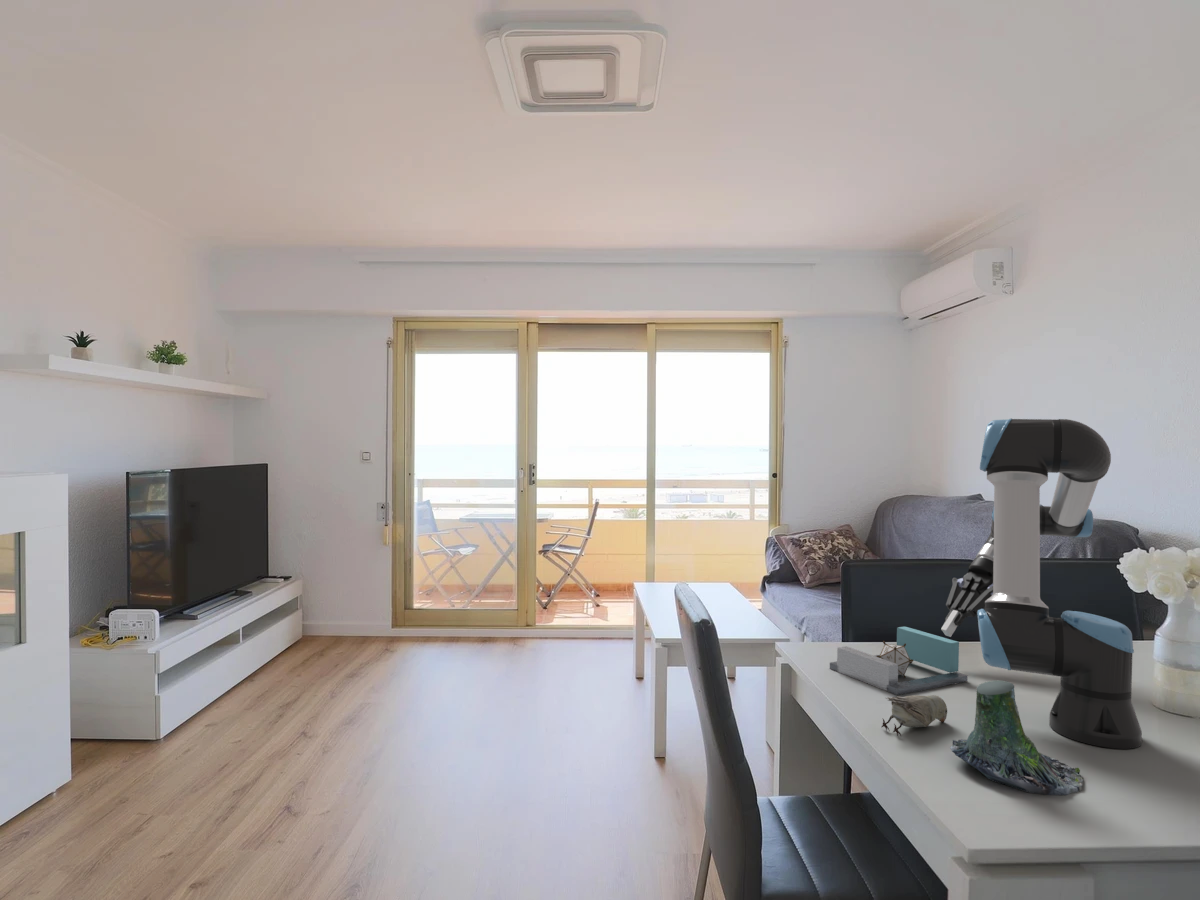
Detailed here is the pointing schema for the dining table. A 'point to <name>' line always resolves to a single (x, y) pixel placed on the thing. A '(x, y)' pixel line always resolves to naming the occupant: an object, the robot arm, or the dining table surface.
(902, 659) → the game die
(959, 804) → the dining table surface
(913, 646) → the sliding jaw
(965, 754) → the tree stump
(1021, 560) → the robot arm
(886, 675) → the vise base
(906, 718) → the decorative bird
